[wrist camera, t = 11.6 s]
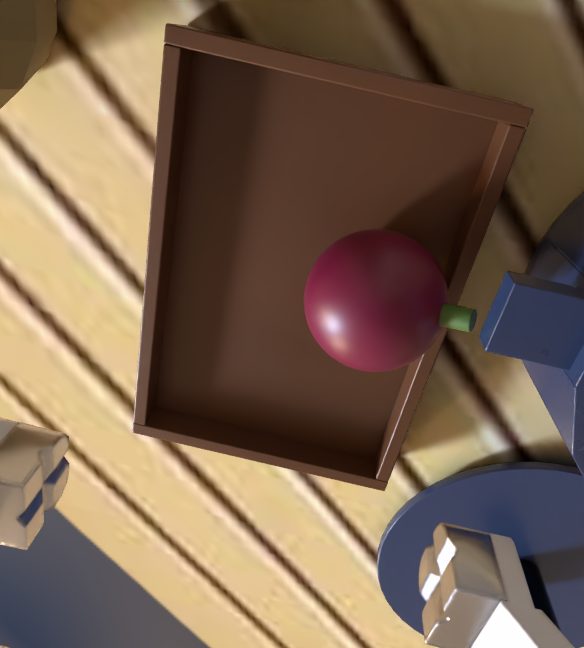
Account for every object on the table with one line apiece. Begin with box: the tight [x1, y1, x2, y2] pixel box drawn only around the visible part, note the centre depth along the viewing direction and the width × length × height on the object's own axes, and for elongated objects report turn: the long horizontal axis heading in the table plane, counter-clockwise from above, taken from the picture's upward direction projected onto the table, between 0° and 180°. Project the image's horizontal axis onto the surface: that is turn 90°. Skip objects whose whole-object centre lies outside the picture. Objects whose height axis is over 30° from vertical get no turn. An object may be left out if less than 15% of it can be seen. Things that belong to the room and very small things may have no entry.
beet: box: [304, 229, 477, 372], centre depth 20 cm, size 5×5×6 cm
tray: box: [133, 23, 534, 491], centre depth 22 cm, size 17×12×2 cm
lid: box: [377, 462, 584, 648], centre depth 27 cm, size 14×14×5 cm
